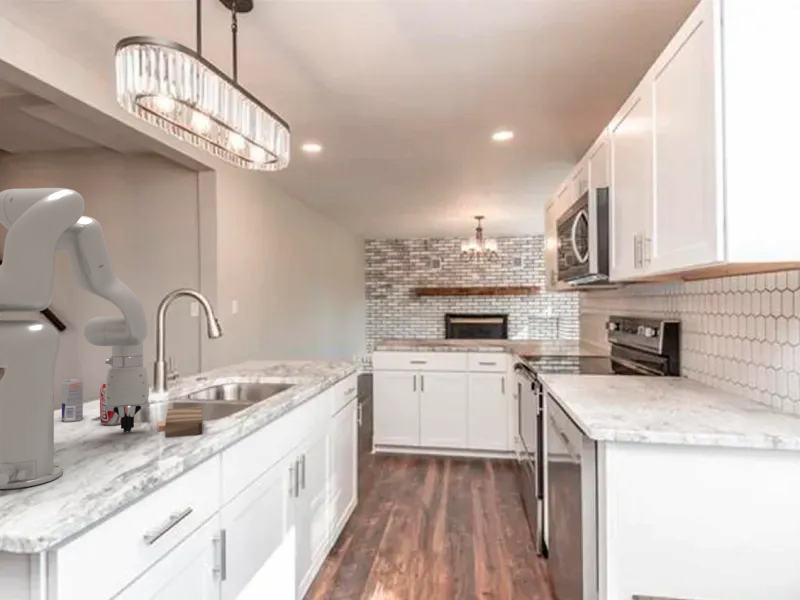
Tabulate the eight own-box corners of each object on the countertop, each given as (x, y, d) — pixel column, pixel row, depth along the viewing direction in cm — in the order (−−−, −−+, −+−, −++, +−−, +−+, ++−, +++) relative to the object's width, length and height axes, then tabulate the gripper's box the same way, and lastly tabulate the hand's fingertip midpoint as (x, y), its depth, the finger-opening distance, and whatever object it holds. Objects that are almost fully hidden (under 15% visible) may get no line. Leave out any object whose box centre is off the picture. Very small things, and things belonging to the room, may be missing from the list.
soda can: (94, 425, 153) (94, 382, 153) (115, 419, 160) (114, 379, 160) (112, 427, 151) (112, 384, 151) (133, 421, 157) (133, 380, 157)
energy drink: (70, 418, 162) (70, 378, 162) (87, 418, 162) (87, 378, 162) (57, 422, 157) (57, 380, 157) (73, 422, 156) (73, 381, 156)
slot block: (202, 434, 142) (202, 419, 142) (165, 437, 139) (165, 422, 139) (201, 420, 159) (201, 406, 159) (168, 422, 156) (168, 409, 156)
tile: (197, 429, 150) (197, 422, 150) (158, 433, 145) (158, 426, 145) (194, 424, 155) (194, 417, 155) (157, 428, 151) (157, 421, 151)
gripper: (93, 365, 138) (93, 436, 138) (157, 362, 143) (157, 431, 143) (98, 362, 145) (98, 430, 145) (159, 359, 150) (159, 425, 150)
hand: (127, 430), depth 144 cm, fingers closed
